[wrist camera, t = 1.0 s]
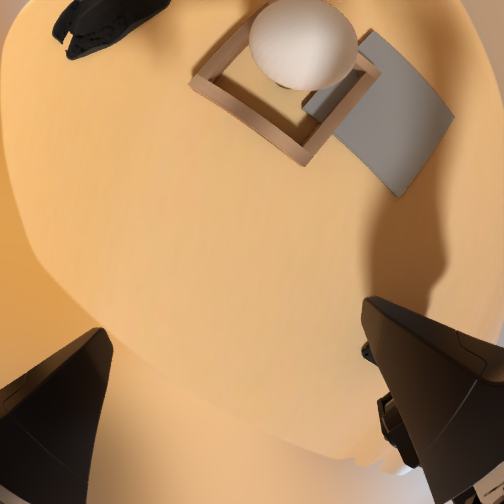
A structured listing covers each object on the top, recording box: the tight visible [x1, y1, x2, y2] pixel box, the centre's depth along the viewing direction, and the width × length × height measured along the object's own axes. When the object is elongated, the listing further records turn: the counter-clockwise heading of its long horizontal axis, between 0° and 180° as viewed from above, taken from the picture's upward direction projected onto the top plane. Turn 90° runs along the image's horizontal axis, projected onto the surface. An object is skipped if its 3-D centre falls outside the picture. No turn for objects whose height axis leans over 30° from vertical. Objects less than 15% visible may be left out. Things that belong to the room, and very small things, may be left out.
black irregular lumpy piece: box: [52, 0, 171, 60], centre depth 12 cm, size 12×10×5 cm
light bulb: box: [249, 0, 358, 91], centre depth 13 cm, size 6×6×10 cm
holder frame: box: [188, 0, 382, 167], centre depth 17 cm, size 10×10×2 cm
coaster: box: [302, 31, 455, 198], centre depth 18 cm, size 11×11×1 cm
